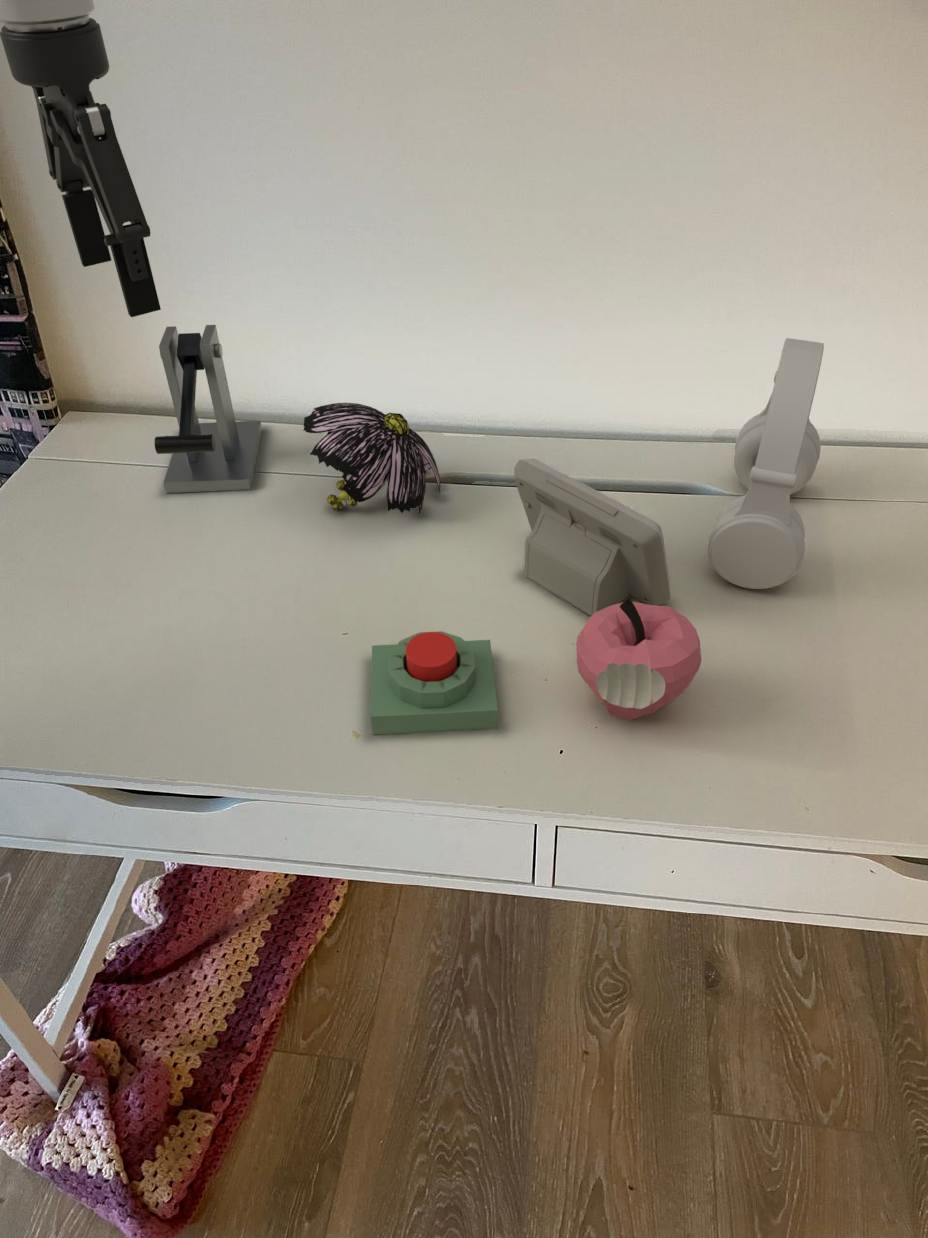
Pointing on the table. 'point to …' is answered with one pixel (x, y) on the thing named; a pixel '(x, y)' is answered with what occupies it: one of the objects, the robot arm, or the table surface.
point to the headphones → (771, 479)
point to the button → (431, 656)
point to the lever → (187, 402)
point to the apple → (637, 657)
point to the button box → (433, 691)
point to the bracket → (210, 426)
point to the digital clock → (588, 542)
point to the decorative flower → (372, 454)
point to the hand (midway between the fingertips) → (119, 286)
